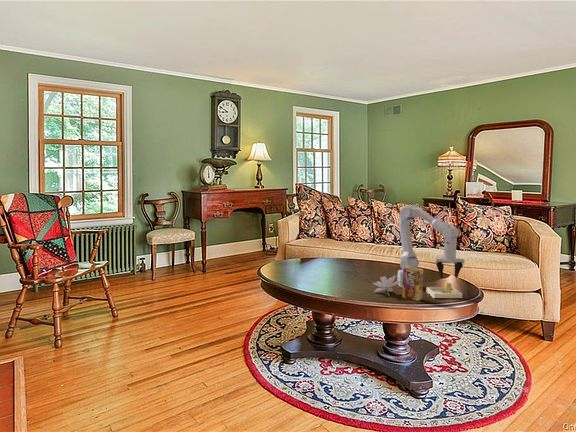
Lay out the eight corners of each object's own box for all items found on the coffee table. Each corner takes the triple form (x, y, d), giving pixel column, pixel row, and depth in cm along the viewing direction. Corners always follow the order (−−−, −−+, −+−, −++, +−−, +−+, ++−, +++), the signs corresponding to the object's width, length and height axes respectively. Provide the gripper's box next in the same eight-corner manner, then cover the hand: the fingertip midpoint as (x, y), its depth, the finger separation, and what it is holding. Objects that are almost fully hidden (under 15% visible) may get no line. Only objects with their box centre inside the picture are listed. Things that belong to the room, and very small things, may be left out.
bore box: (434, 298, 210) (434, 293, 210) (426, 291, 222) (426, 286, 222) (462, 298, 211) (462, 293, 210) (452, 291, 222) (452, 287, 222)
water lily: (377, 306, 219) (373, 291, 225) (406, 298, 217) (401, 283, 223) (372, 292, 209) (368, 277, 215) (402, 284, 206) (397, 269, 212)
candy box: (422, 299, 209) (423, 269, 207) (418, 301, 206) (419, 270, 204) (405, 295, 215) (407, 266, 213) (401, 297, 212) (403, 267, 210)
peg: (445, 295, 215) (446, 284, 214) (443, 294, 218) (443, 282, 217) (451, 296, 215) (452, 284, 214) (449, 294, 218) (449, 282, 217)
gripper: (438, 252, 210) (437, 278, 211) (467, 252, 210) (466, 279, 212) (433, 249, 217) (432, 275, 218) (461, 249, 217) (460, 275, 219)
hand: (448, 277), depth 215 cm, fingers open, 7 cm apart
